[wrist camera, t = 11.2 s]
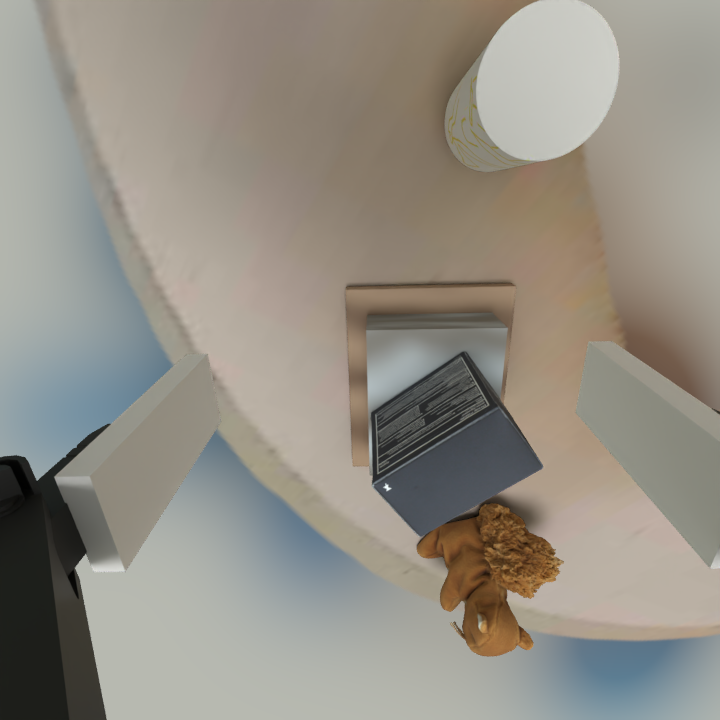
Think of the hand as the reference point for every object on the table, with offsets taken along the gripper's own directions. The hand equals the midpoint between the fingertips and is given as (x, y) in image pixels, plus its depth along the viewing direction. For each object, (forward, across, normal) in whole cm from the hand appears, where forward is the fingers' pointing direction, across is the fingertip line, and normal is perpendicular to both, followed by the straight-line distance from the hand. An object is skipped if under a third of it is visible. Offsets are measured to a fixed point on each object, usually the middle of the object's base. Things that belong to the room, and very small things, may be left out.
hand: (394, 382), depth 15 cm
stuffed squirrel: (+26, +11, -34) cm, 45 cm away
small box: (+21, +4, -13) cm, 25 cm away
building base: (+27, +4, -13) cm, 30 cm away
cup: (+28, +10, +11) cm, 32 cm away
